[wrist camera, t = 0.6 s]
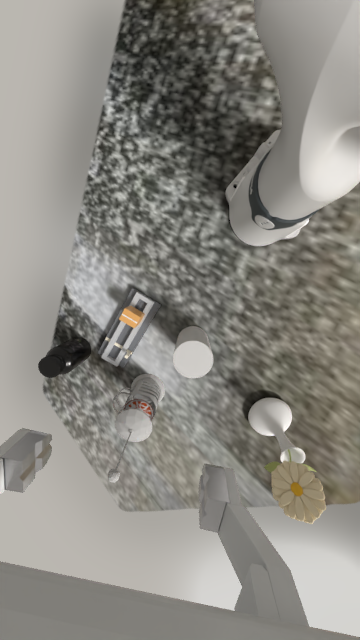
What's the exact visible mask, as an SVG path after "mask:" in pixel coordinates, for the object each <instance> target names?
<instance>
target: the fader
mask: <svg viewBox="0 0 360 640" xmlns="http://www.w3.org/2000/svg"><path fill="white" fill-rule="evenodd" d="M144 315H145V314H144V313H143V312H141V311H139V310H138V309H136V308H134V307H133V306H129V307H126V308H125V309H124V311H123V312H122V314H121V316H120V318H119V320H121V321H122V322H124V323H126V324H127V325H129V326H131V327H133V328H135V327H137V326H138V325H139V324H140V322H141V320H142V319H143V317H144Z"/></svg>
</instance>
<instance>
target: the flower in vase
mask: <svg viewBox="0 0 360 640" xmlns="http://www.w3.org/2000/svg"><path fill="white" fill-rule="evenodd" d="M248 420H249V423H250V425H251V426H252V428H253V429H254V430H256V431H257V432H258V433H260V434H263V435H267V436H276V438H277V440H278V442H279V444H280V447H281V456H280V459H281V462H282V463H281V464H280V463H278V462H271V463H269V464H267V465H266V466H265V467H264V468H265V469H266V470H267V471H269V472H270V473H271V474H272V477H271V478H272V481H271V482H272V488H273V489H272V493H273V498H274V499H275V500H277V501H279V506H280V507H281V508H284V513H285V515H287V516H290V518H292V519H294V518H295V519H296V520H298V521H299V520H300V521H304V522H305V523H310V524H313V522H314V521H315V520H316V518H319V517H320V514H322V513H323V511H324V510H326V506H325V501H324V499H325V495H324V492H323V491H322V490H323V486H322V485H321V482H320V480H319V479H317V478H315V475H314V474H313V473H312V472H309V470H311V471H315V470H314V469H313V468H311V467H310V466H308V465H305V464H302V463H303V462H304V460H305V453H304V452H303V450H301V449H300V448H298V447H295V446H294V445H293V444H292V443H291V442H290V441H289V439H288V438H287V436H286V435H285V433H284V431H286V430H287V428H288V427H289V425H290V424H291V421H292V414H291V410H290V408H289V406H288V405H287V404H286V403H285V402H284V401H282V400H280V399H277V398H264V399H261V400H259V401H257V402H256V403H255V404H254V405H253V406H252V407H251V409H250V411H249V414H248ZM315 472H316V471H315Z"/></svg>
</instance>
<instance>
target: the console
mask: <svg viewBox="0 0 360 640" xmlns="http://www.w3.org/2000/svg"><path fill="white" fill-rule="evenodd" d="M129 306H133V307H134V308H136V309H138V310H139V311H141V312H143V313H144V314H145V315H144V317H143V319H142V320H141V322H140V324H139V325H138V326H137V327H135V328H133V327H131V326H129V325H127V324H126V323H124V322H122V321H121V320H119V318H120V316H121V314H122V312H123V311H124V309H125V308H126V307H129ZM160 306H161V304H159V303H158V302H156V301H154V300H153V299H151V298H149V297H148V296H146V295H145V294H143V293H141V292H140V291H138V290H136V289H135V288H132V290H131V291H130V293H129V295H128V297H127V299H126V301H125V303H124V305H123V306H122V308H121V310H120V312H119V314H118V316H117V318H116V320H115V321H114V323H113V325H112V327H111V329H110V331H109V333H108V334H107V336H106V338H105V340H104V342H103V344H102V346H101V348H100V349H99V351H98V354H100V355H102V357H101V358H103V359H104V360H106V361H108V362H110V363H111V364H113V365H115V366H116V367H117V366H118V365H119V366H121V367H123V368H124V367H125V366H126V364H127V362H128V360H129V359H130V357H131V355H132V354H133V352H134V350H135V349H136V347H137V345H138V343H139V342H140V340H141V338H142V337H143V335H144V333H145V331H146V330H147V328H148V326H149V325H150V323H151V321H152V319H153V318H154V316H155V314H156V313H157V311H158V309H159V307H160Z"/></svg>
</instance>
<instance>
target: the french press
mask: <svg viewBox="0 0 360 640" xmlns="http://www.w3.org/2000/svg"><path fill="white" fill-rule="evenodd" d="M123 389H130V390H131V392H130V393H125V392H121V393H125V394H128V395H129V394H130V396H129V397H128V399H127V401H126V403H125V405H124V406H123V407H121V405H120V404H119V401H118V395H119V394H121V393H120V391H121V390H123ZM123 389H121V390H119V392H118V394H117V395H116V396H117V402H118V405H119V406H120V408H122V409H124V411H123V412H121V411H122V409H121V410H120V412H119V413H118V412H117V410H116V409H115V406H114V400H115V398H116V396H115V397H114V399H113V407H114V410H115V411H116V413H117V414H119V415H118V416H117V418H116V420H115V428H116V430H117V432H118V434H119V435H120V436H121V437H122V438H124V439H126V440H127V442H128V441H132V442H139V441H143V440H145V439H146V438H147V437H149V435H150V433H151V432H152V423H151V421H152V419H153V417H154V415H155V413H156V409H157V406H158V402H159V401H160V400H161V399H162V398H163V396H164V394H165V387H164V385H163V382H162V381H161V380H160V379H159V378H158V377H156V376H154V375H152V374H142V375H139V376H138V377H136V378H135V379H134V380H133V382H132V385H131V388H123ZM132 396H133V400H132ZM151 405H152V406H151ZM124 407H125V408H124ZM127 442H126V444H125V447H124V449H123V452H122V454H121V457H120V459H119V462H118V464H117V467H116V469H111V470H110V471H109V473H108V480H109V482H116V481H117V480H118V479H119V476H120V472H119V471H118V470H117V468H118V465H119V463H120V460H121V458H122V455H123V453H124V450H125V448H126V445H127Z"/></svg>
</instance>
